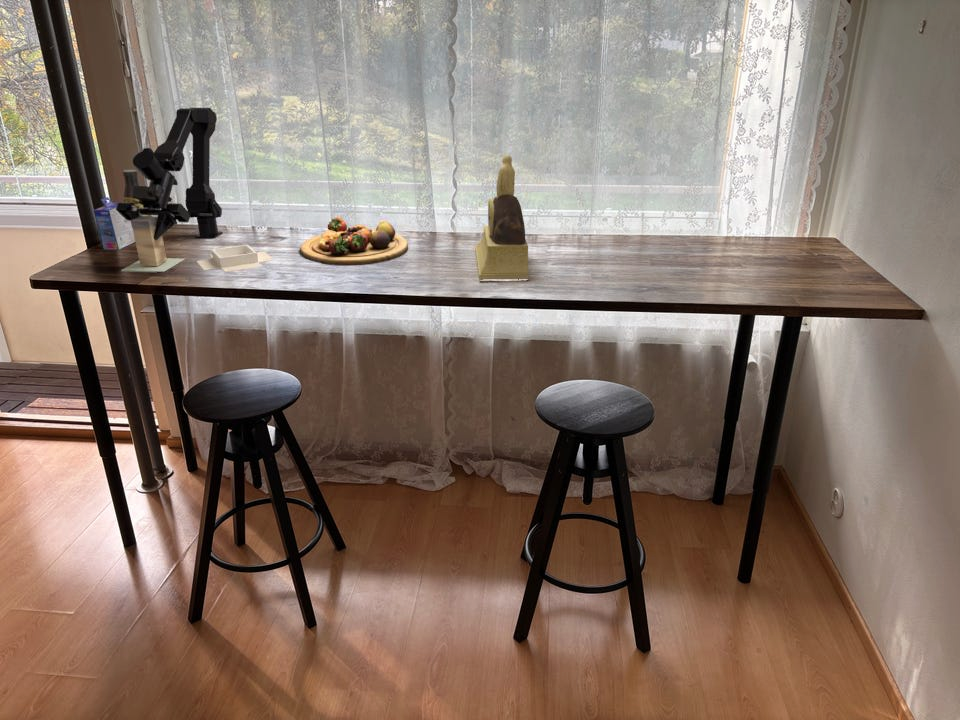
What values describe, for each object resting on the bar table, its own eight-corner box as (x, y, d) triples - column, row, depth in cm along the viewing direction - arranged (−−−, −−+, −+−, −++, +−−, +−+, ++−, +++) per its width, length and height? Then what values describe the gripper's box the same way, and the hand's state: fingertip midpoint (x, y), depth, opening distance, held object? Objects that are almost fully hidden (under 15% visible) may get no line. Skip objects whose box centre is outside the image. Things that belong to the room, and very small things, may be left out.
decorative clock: (475, 252, 209) (475, 148, 197) (518, 252, 210) (520, 148, 197) (479, 282, 184) (479, 164, 171) (528, 281, 184) (532, 164, 172)
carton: (193, 258, 203) (191, 248, 202) (259, 248, 212) (258, 239, 211) (207, 275, 188) (206, 264, 187) (278, 264, 197) (277, 254, 196)
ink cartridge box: (120, 241, 220) (110, 194, 214) (137, 241, 219) (127, 194, 213) (101, 249, 211) (90, 201, 205) (119, 250, 210) (108, 201, 204)
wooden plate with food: (296, 241, 221) (293, 215, 217) (396, 232, 230) (395, 207, 226) (305, 272, 194) (302, 243, 190) (418, 261, 202) (417, 233, 199)
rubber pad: (144, 258, 202) (144, 257, 202) (184, 260, 201) (184, 258, 201) (121, 271, 191) (121, 270, 191) (163, 272, 190) (163, 271, 190)
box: (150, 260, 199) (141, 216, 193) (167, 260, 198) (159, 216, 193) (139, 265, 194) (130, 220, 189) (157, 266, 193) (148, 221, 188)
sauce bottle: (125, 234, 227) (112, 171, 219) (137, 229, 233) (124, 168, 225) (144, 235, 226) (131, 172, 218) (155, 230, 232) (143, 169, 224)
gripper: (112, 172, 191) (96, 222, 185) (177, 173, 188) (163, 224, 183) (134, 195, 201) (120, 243, 196) (196, 197, 199) (183, 245, 194)
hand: (145, 239), depth 192 cm, fingers closed on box, 5 cm apart
